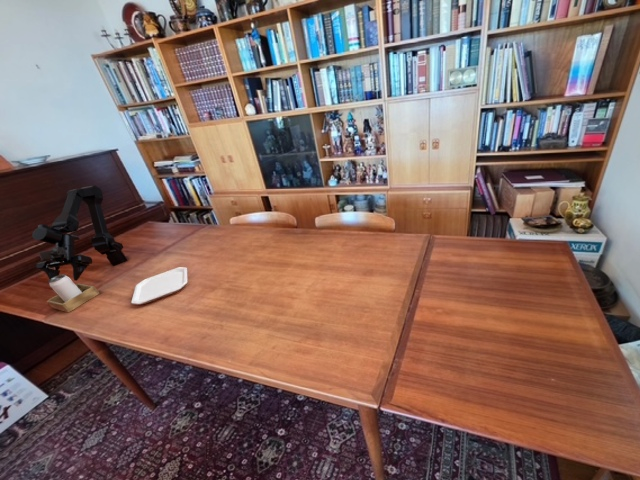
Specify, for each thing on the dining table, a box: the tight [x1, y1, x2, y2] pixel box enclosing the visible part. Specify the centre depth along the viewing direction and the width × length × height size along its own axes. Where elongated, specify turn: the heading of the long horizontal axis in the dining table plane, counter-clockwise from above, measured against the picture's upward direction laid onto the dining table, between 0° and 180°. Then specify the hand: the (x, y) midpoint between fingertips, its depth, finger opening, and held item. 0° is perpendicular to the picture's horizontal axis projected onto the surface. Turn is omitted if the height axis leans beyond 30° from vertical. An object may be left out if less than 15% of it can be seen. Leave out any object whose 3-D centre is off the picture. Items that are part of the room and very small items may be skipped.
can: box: [47, 274, 82, 303], centre depth 124 cm, size 6×6×12 cm
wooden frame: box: [46, 283, 100, 313], centre depth 126 cm, size 12×12×4 cm
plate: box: [130, 266, 188, 306], centre depth 124 cm, size 21×21×2 cm
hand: (64, 282), depth 123 cm, fingers open, 9 cm apart
